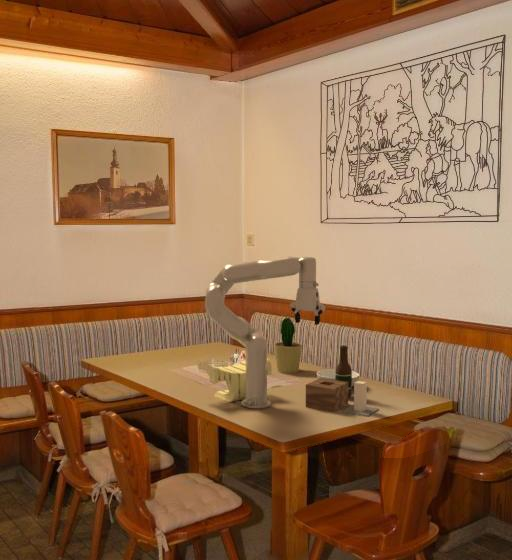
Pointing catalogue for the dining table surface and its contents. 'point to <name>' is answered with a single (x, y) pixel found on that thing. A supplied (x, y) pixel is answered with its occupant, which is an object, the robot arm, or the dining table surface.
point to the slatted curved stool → (230, 379)
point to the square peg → (360, 396)
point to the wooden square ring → (327, 394)
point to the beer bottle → (344, 369)
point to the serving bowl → (331, 375)
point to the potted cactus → (287, 349)
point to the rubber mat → (366, 412)
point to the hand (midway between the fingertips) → (307, 323)
